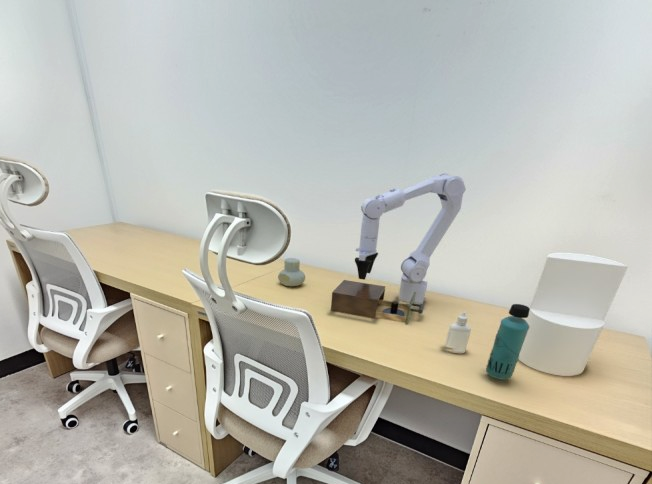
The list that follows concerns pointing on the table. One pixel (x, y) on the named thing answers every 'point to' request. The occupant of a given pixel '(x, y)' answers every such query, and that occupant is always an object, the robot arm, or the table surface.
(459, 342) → the eye dropper bottle
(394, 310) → the lid
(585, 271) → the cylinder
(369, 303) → the cabinet
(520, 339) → the beverage bottle
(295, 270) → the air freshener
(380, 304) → the drawer
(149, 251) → the table surface
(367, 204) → the robot arm
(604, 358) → the table surface
